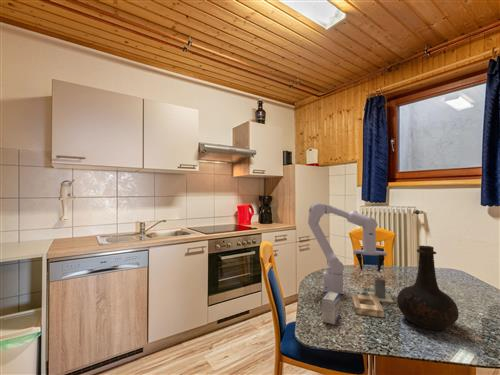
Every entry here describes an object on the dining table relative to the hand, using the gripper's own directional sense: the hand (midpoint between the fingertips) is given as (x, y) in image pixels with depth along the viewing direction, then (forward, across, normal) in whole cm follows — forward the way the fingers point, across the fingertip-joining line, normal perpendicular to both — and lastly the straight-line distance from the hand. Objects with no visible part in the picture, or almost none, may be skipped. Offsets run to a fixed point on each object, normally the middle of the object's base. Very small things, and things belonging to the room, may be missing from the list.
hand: (369, 270), depth 119 cm
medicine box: (+11, -18, -33) cm, 39 cm away
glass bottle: (+11, +15, -26) cm, 32 cm away
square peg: (+10, +3, -6) cm, 12 cm away
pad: (+10, +3, -6) cm, 12 cm away
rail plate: (+10, -4, -19) cm, 22 cm away
